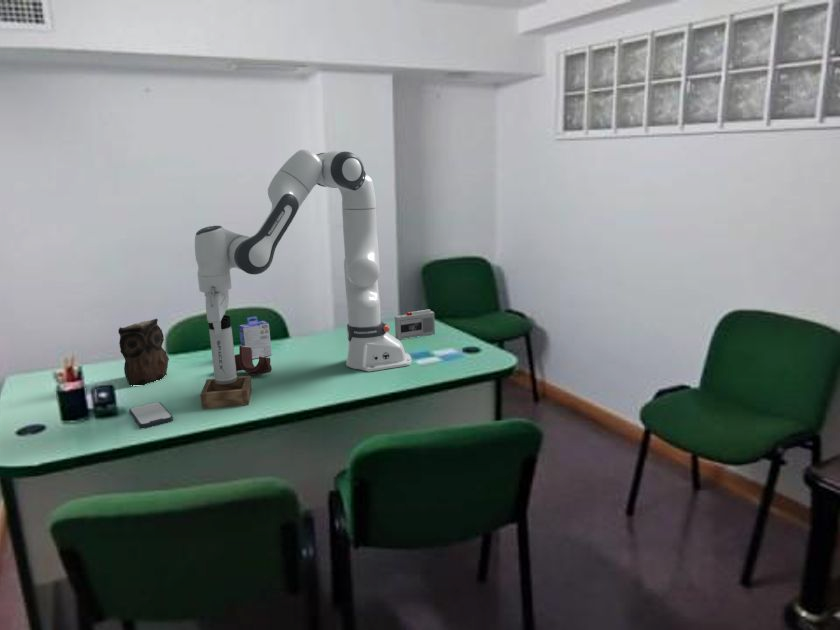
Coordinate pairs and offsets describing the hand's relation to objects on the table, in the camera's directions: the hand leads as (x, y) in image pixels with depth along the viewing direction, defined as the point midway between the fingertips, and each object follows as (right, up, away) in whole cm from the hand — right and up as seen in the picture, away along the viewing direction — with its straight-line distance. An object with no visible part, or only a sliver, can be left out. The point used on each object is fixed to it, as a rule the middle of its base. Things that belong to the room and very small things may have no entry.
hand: (220, 330), depth 185 cm
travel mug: (0, -15, +4) cm, 16 cm away
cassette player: (+56, -4, +64) cm, 86 cm away
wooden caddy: (0, -20, +7) cm, 21 cm away
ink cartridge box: (-1, -11, +45) cm, 47 cm away
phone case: (-18, -25, -6) cm, 31 cm away
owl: (-33, -17, +25) cm, 45 cm away
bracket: (+1, -15, +28) cm, 32 cm away
